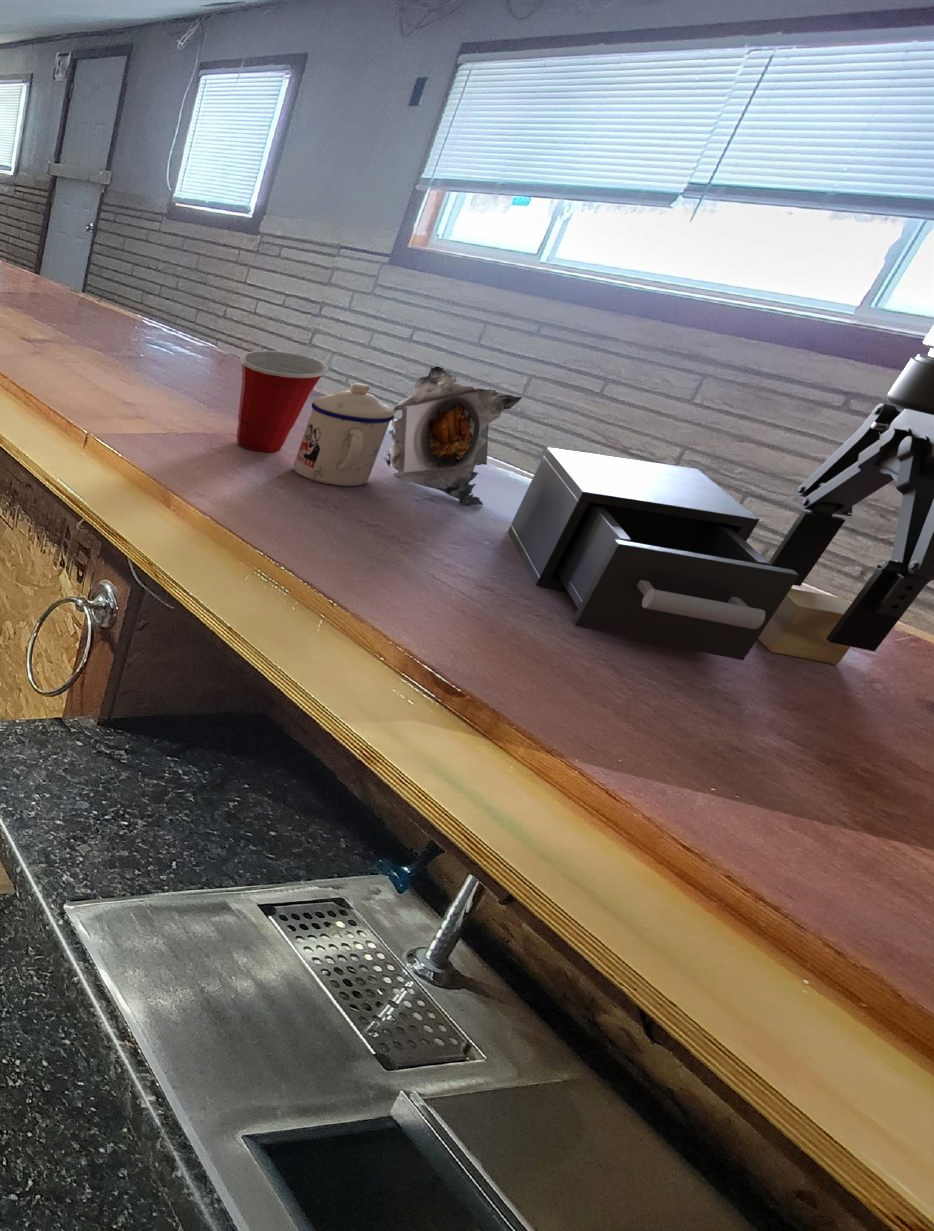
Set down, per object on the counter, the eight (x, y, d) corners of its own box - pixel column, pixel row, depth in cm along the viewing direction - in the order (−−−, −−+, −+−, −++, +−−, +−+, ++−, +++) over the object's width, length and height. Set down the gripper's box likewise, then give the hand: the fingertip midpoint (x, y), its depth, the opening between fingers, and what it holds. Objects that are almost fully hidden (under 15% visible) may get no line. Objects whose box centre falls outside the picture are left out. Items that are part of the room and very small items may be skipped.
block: (814, 642, 80) (845, 597, 78) (837, 665, 76) (871, 619, 74) (749, 630, 82) (778, 585, 79) (769, 651, 78) (800, 606, 76)
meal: (487, 505, 108) (536, 396, 101) (456, 505, 107) (503, 396, 101) (399, 464, 121) (437, 365, 114) (371, 464, 120) (407, 365, 114)
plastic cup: (216, 451, 123) (241, 361, 117) (217, 430, 131) (240, 346, 125) (303, 463, 119) (334, 372, 113) (298, 442, 128) (326, 356, 122)
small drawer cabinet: (699, 617, 83) (760, 519, 79) (535, 585, 88) (583, 491, 83) (648, 556, 96) (698, 468, 91) (507, 531, 101) (547, 447, 96)
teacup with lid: (286, 460, 120) (314, 372, 114) (360, 469, 118) (393, 380, 112) (299, 489, 110) (331, 394, 105) (381, 500, 108) (418, 404, 102)
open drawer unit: (764, 685, 71) (825, 596, 67) (586, 647, 75) (633, 562, 71) (684, 592, 86) (731, 515, 82) (540, 565, 90) (577, 491, 86)
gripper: (843, 327, 78) (706, 550, 88) (1025, 386, 58) (820, 663, 69) (961, 340, 75) (805, 568, 86) (1193, 406, 55) (953, 691, 66)
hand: (811, 611), depth 77 cm, fingers open, 13 cm apart
